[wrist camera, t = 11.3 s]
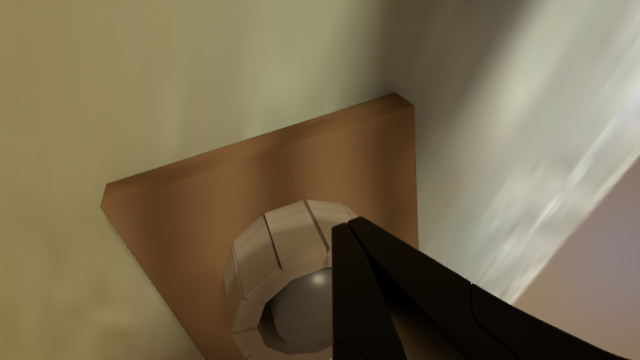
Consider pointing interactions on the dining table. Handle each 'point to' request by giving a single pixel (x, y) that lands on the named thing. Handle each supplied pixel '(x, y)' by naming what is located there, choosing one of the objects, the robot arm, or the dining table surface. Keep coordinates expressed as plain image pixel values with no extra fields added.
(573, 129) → the dining table surface
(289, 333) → the smooth gray stone
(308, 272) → the brown board with ring
